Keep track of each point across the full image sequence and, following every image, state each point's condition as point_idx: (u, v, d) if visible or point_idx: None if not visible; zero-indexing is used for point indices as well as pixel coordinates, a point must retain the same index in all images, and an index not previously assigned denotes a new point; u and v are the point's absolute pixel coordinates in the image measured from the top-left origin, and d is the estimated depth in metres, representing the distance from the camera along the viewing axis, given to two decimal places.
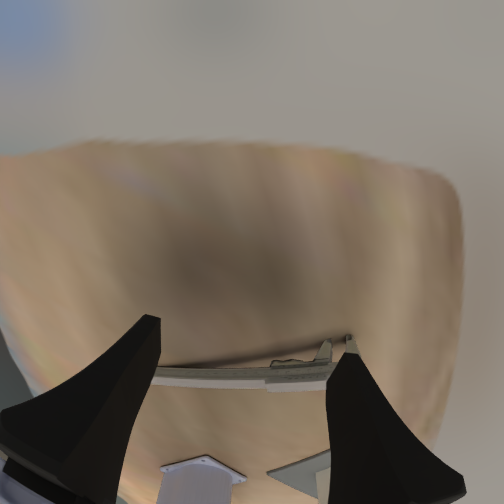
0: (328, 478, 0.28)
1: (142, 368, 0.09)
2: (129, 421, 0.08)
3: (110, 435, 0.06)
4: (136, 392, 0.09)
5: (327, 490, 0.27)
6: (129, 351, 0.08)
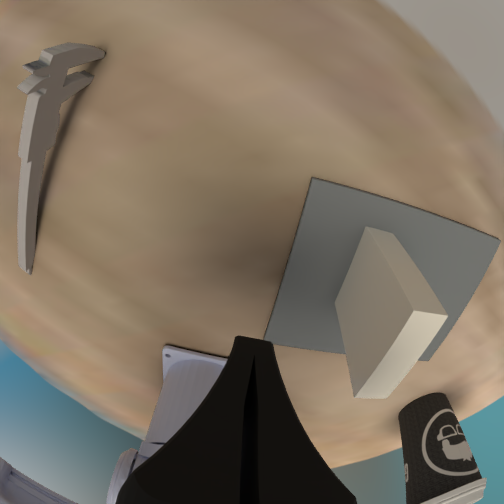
0: (347, 297, 0.18)
1: None
2: None
3: None
4: None
5: (351, 320, 0.17)
6: (242, 378, 0.08)
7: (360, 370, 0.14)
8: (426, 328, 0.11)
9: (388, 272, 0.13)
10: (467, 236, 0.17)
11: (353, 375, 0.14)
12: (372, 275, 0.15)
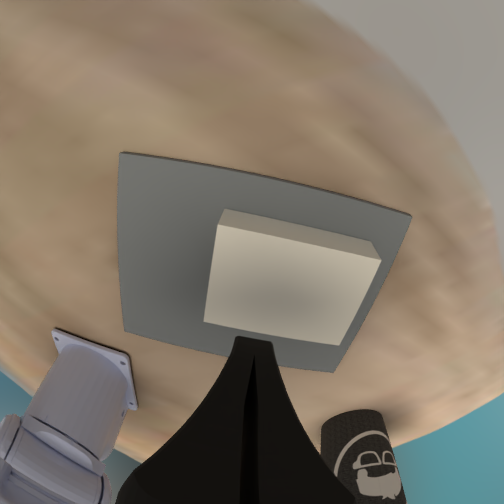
0: (237, 304, 0.16)
1: None
2: None
3: None
4: None
5: (270, 315, 0.16)
6: (241, 378, 0.08)
7: (330, 330, 0.16)
8: None
9: (320, 251, 0.14)
10: (346, 209, 0.15)
11: (321, 338, 0.16)
12: (285, 265, 0.14)
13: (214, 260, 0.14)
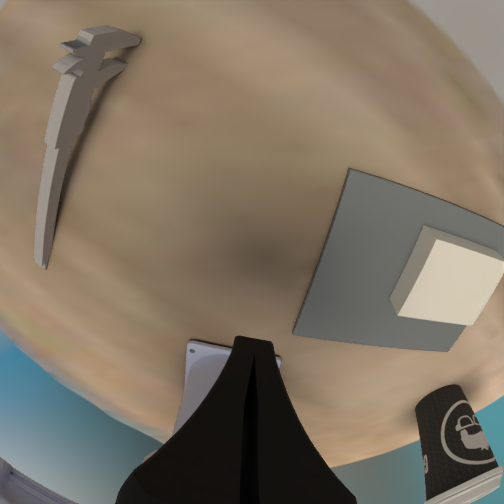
0: (427, 299, 0.18)
1: None
2: None
3: None
4: None
5: (442, 306, 0.18)
6: (241, 378, 0.08)
7: (471, 314, 0.18)
8: None
9: (483, 258, 0.16)
10: (488, 228, 0.17)
11: (464, 321, 0.18)
12: (464, 268, 0.16)
13: (425, 265, 0.16)
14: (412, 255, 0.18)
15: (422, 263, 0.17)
